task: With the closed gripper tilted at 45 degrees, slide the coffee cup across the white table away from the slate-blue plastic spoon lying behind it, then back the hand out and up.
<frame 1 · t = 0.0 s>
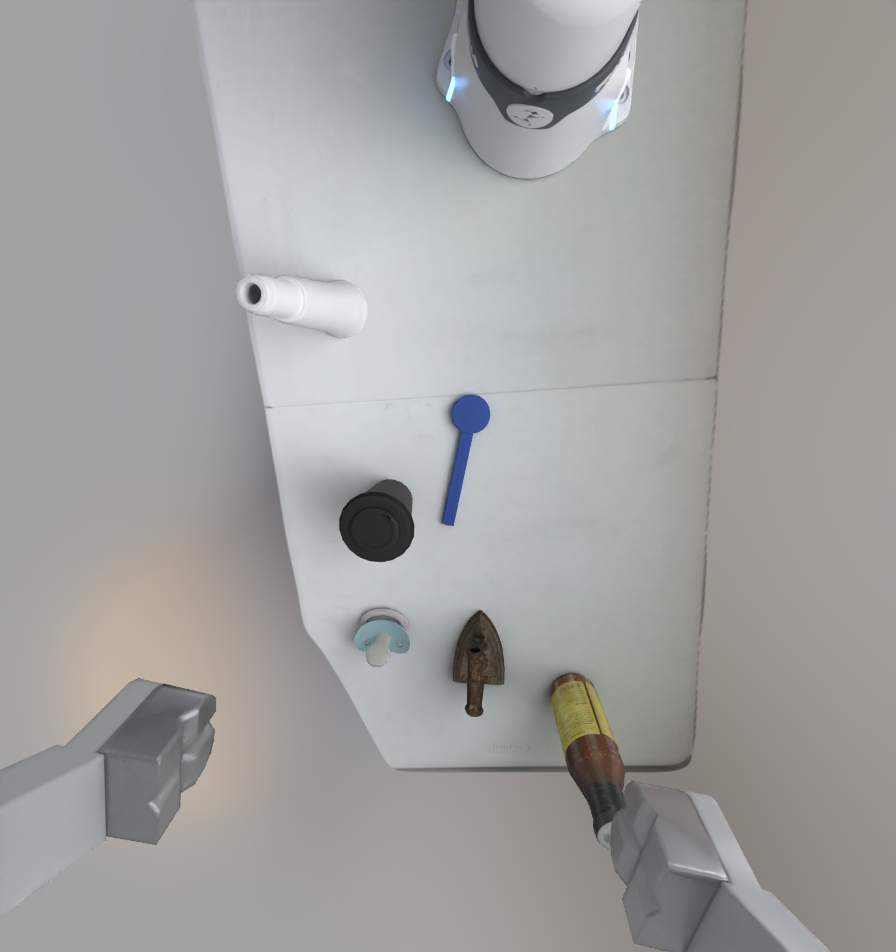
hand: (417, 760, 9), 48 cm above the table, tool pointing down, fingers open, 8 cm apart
sauce bottle: (573, 689, 66), on the table
pacifier: (385, 625, 64), on the table
spoon: (463, 450, 57), on the table
clothes iron: (479, 644, 64), on the table
cosmetic bottle: (341, 309, 53), on the table
coffee cup: (391, 499, 59), on the table
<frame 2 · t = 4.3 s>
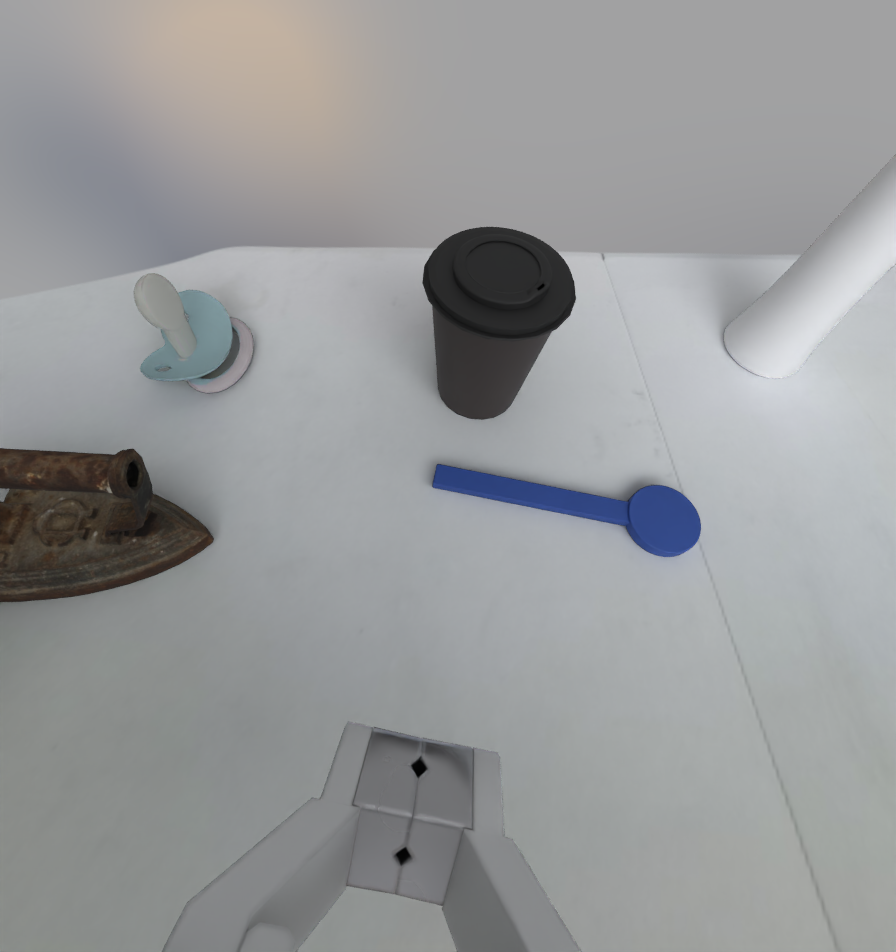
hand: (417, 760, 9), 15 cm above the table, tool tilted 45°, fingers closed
pacifier: (209, 360, 32), on the table
spoon: (586, 508, 29), on the table
clothes iron: (112, 539, 26), on the table
cosmetic bottle: (759, 350, 37), on the table
coffee cup: (476, 388, 33), on the table
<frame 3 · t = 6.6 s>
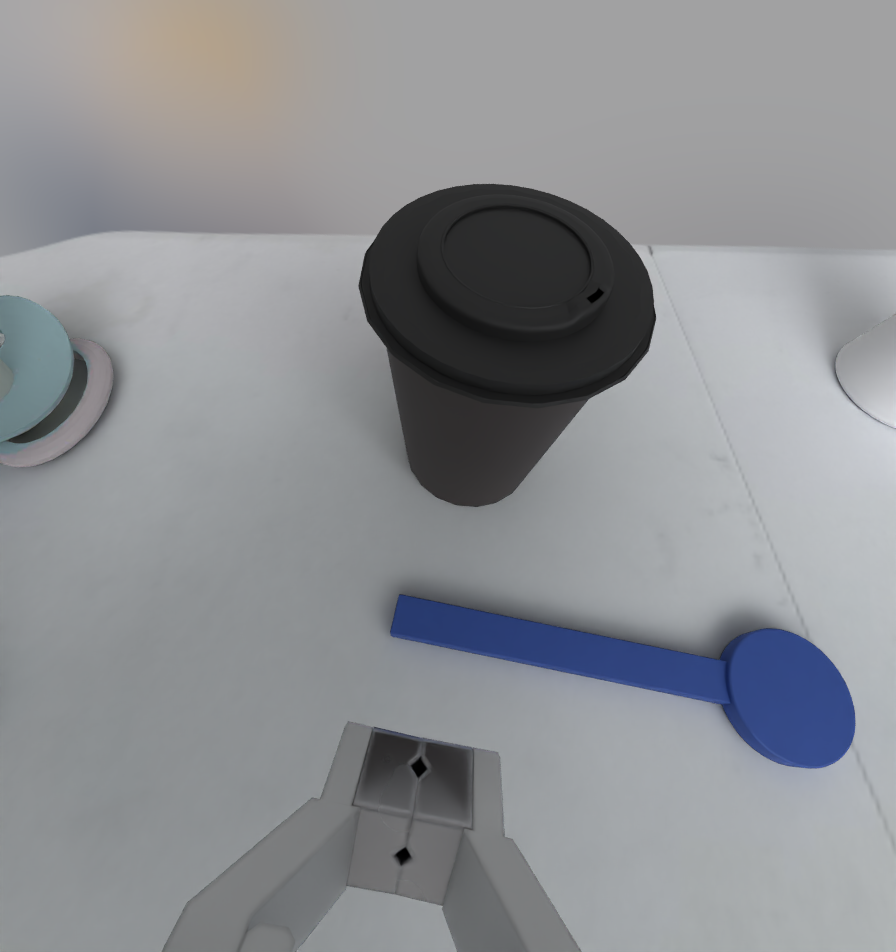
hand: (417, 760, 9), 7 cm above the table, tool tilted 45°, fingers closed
pacifier: (41, 407, 20), on the table
spoon: (653, 669, 17), on the table
cosmetic bottle: (887, 388, 25), on the table
coffee cup: (467, 452, 21), on the table
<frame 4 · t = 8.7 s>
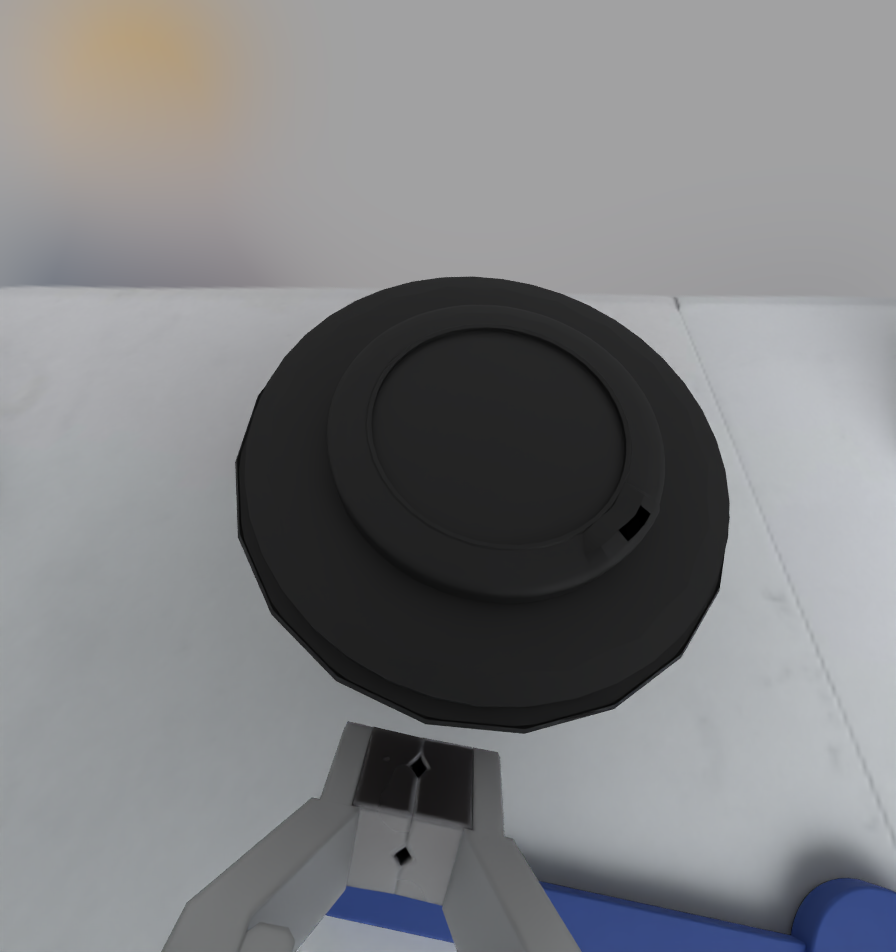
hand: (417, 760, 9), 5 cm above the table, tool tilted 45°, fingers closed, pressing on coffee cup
spoon: (699, 950, 12), on the table
coffee cup: (444, 591, 16), on the table, touching gripper
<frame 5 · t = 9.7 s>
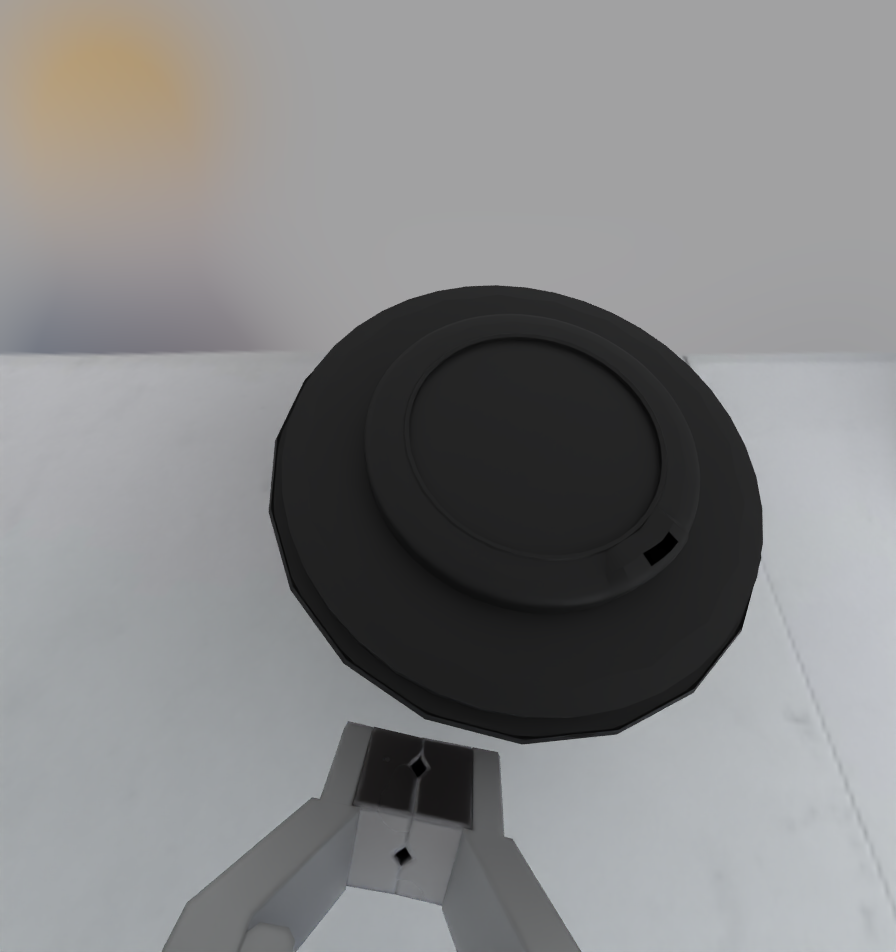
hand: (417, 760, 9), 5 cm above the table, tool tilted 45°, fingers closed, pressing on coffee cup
coffee cup: (459, 597, 16), on the table, touching gripper
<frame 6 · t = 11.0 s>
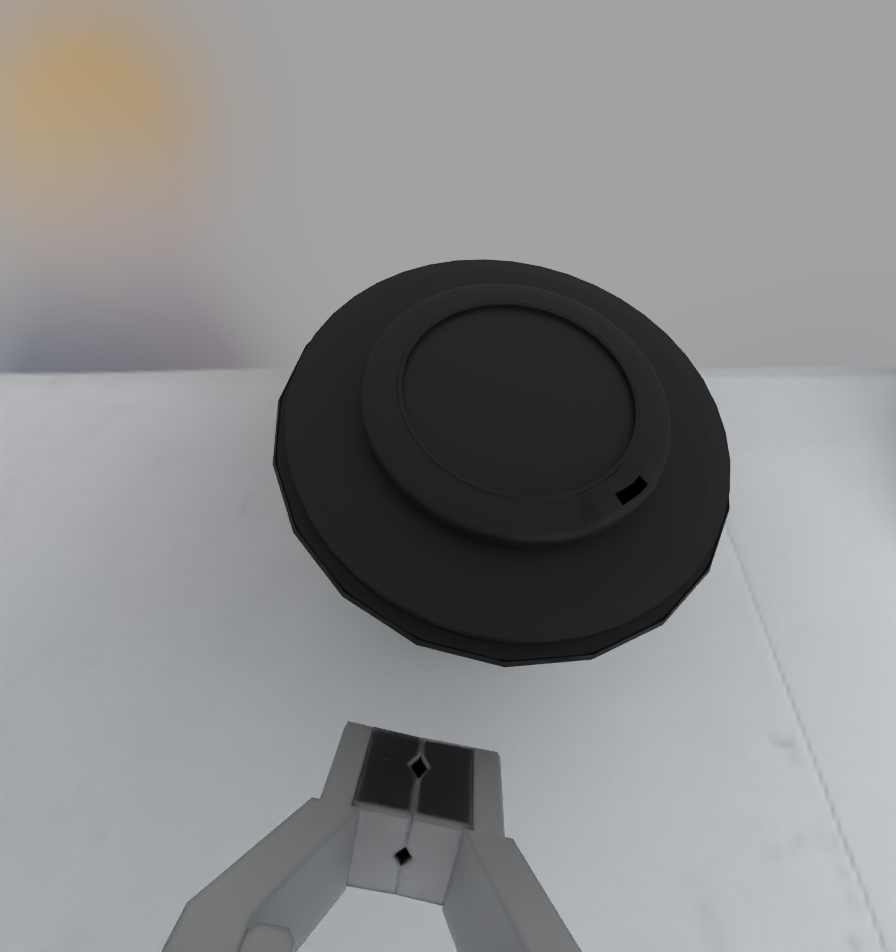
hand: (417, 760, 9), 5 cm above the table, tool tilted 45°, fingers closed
coffee cup: (454, 570, 16), on the table
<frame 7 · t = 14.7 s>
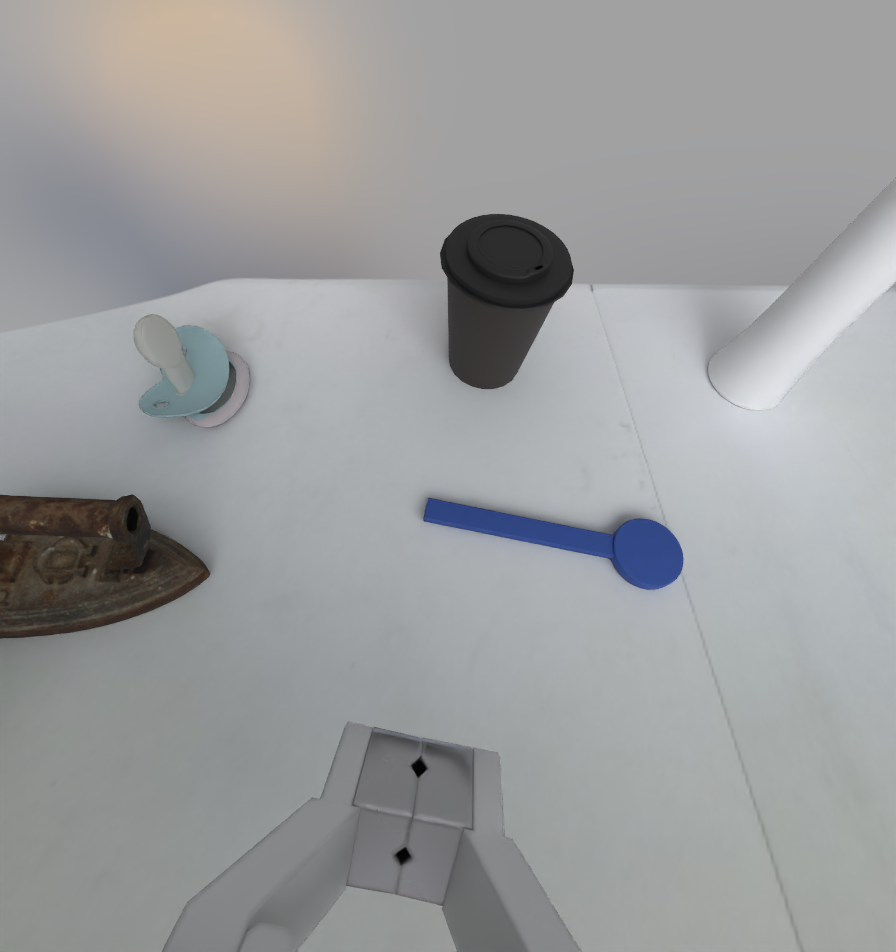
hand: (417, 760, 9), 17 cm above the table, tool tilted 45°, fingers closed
pacifier: (206, 393, 33), on the table
spoon: (573, 541, 30), on the table
clothes iron: (111, 574, 27), on the table
cosmetic bottle: (742, 382, 38), on the table
coffee cup: (483, 362, 36), on the table
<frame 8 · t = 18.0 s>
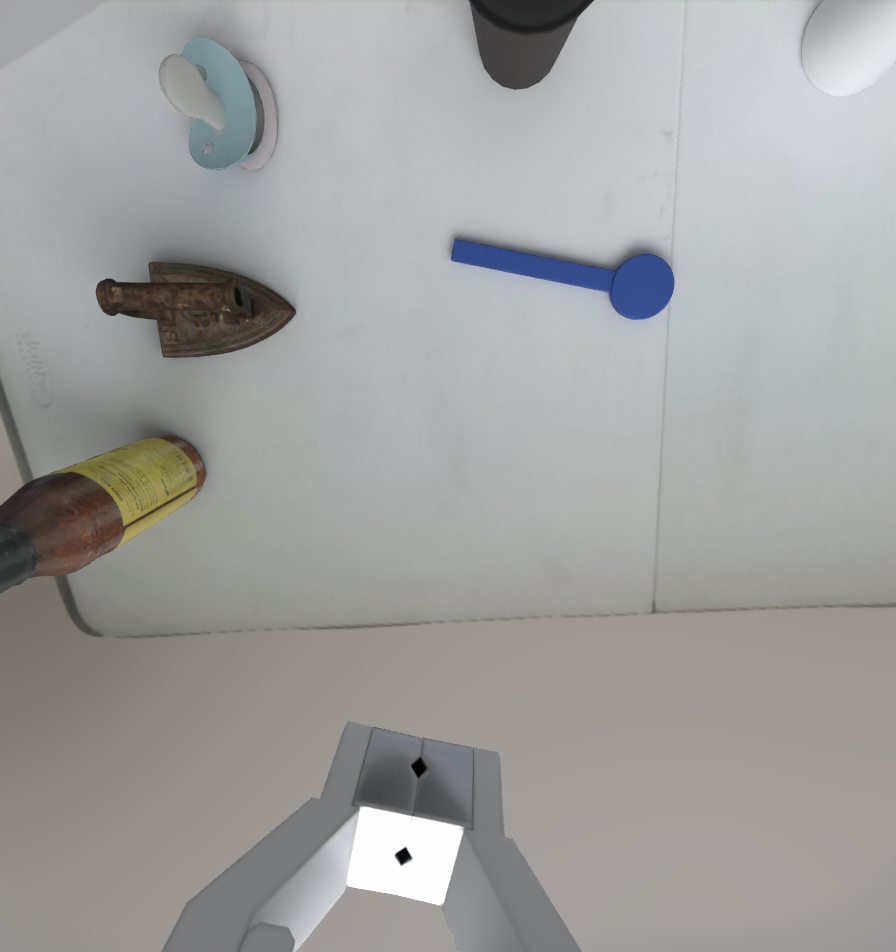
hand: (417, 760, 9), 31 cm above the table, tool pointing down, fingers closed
sauce bottle: (175, 469, 42), on the table
pacifier: (240, 121, 34), on the table
spoon: (579, 276, 35), on the table
clothes iron: (229, 311, 38), on the table
cosmetic bottle: (847, 43, 30), on the table
coffee cup: (519, 43, 32), on the table
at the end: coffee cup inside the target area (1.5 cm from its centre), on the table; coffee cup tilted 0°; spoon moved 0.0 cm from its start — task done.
